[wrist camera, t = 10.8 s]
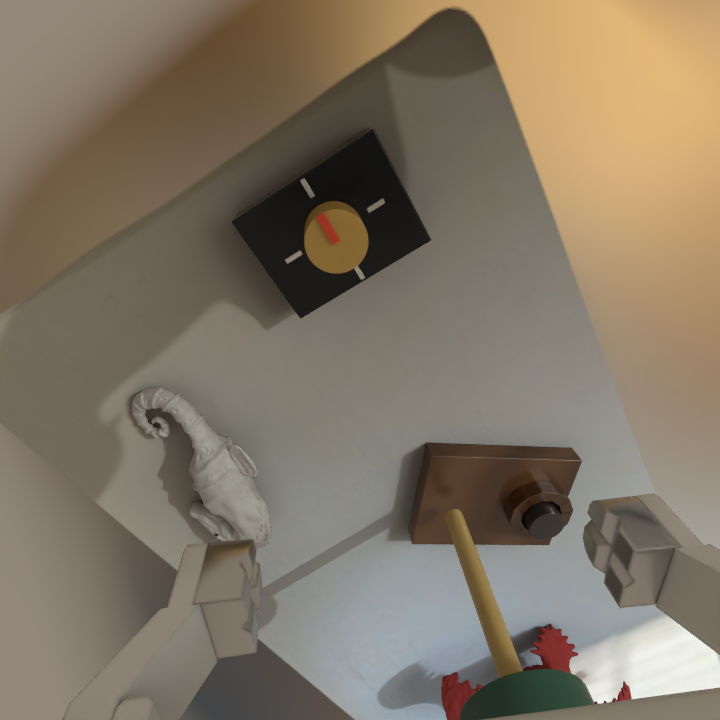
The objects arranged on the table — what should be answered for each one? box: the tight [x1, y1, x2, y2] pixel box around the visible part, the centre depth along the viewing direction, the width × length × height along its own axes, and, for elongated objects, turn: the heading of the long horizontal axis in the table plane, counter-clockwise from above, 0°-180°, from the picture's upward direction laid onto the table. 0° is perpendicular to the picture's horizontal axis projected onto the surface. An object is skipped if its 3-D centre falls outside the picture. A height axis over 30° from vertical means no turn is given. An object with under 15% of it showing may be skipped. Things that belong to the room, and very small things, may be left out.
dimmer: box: [232, 128, 431, 318], centre depth 38 cm, size 12×9×3 cm
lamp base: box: [409, 443, 582, 545], centre depth 52 cm, size 16×12×4 cm
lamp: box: [445, 509, 595, 720], centre depth 38 cm, size 9×9×26 cm
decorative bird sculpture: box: [442, 624, 632, 720], centre depth 64 cm, size 28×9×15 cm
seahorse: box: [132, 388, 272, 549], centre depth 46 cm, size 5×12×20 cm
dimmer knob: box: [304, 201, 369, 274], centre depth 35 cm, size 4×4×4 cm
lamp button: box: [523, 501, 564, 539], centre depth 50 cm, size 4×4×2 cm
